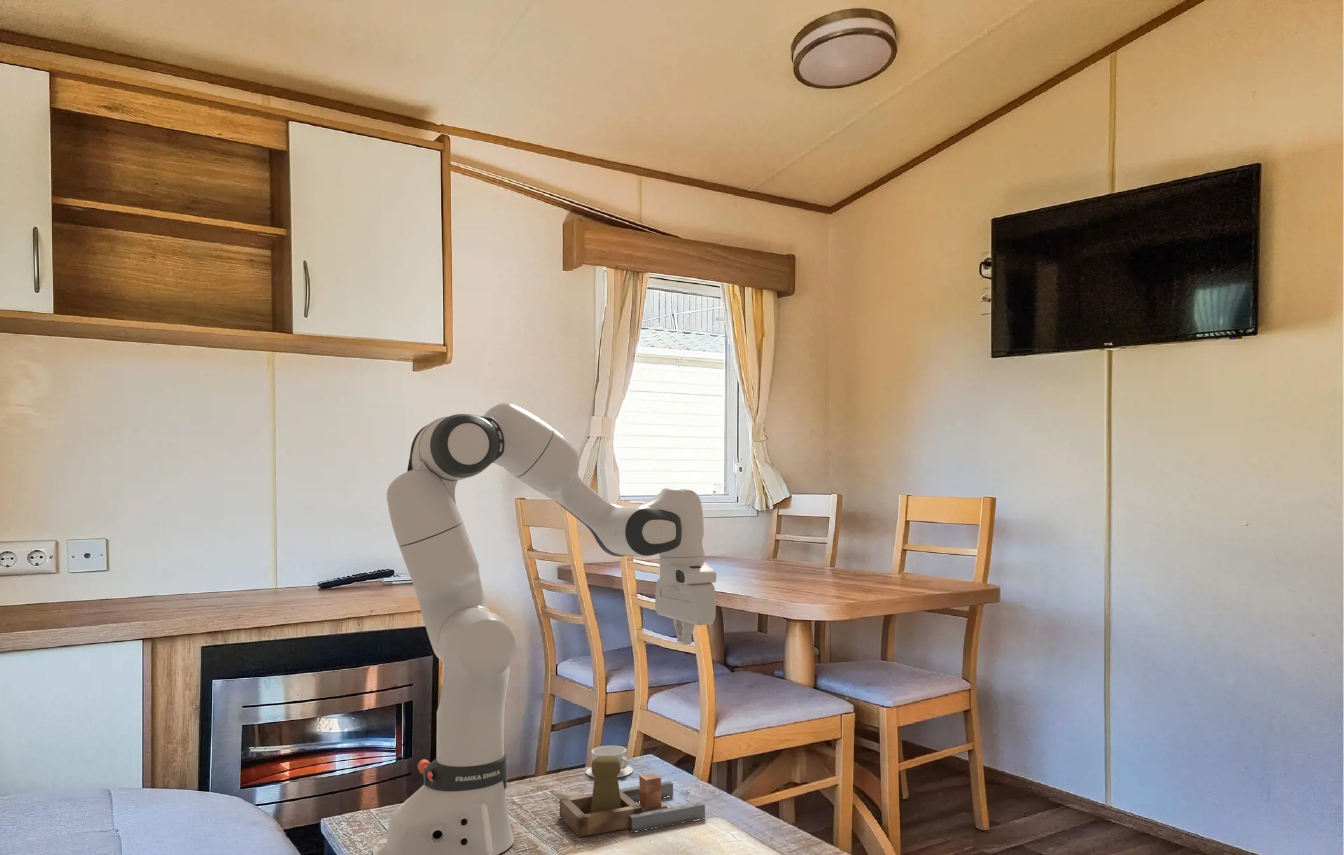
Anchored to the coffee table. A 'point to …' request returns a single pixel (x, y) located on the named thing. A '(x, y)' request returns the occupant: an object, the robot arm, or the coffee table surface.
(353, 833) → the coffee table surface
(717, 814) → the coffee table surface
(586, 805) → the frame
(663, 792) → the lane rails
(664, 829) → the coffee table surface
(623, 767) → the teacup
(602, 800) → the cork
